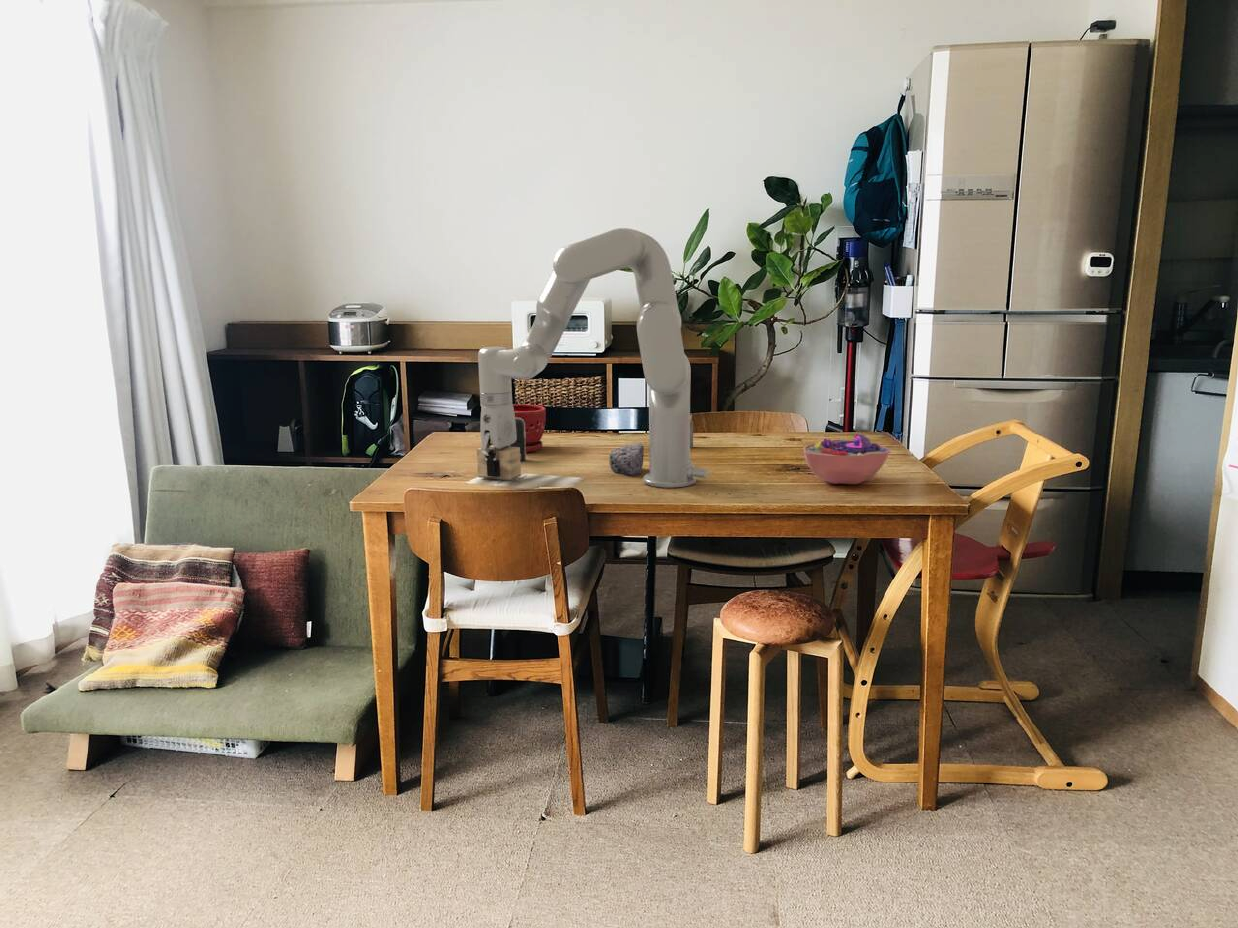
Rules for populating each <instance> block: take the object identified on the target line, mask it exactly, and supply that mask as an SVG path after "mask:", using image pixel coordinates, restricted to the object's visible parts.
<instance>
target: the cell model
mask: <svg viewBox="0 0 1238 928" xmlns="http://www.w3.org/2000/svg"><path fill="white" fill-rule="evenodd" d="M854 436H855V437H854V440H846V439H845V440H844V439H832V440H831V439H830V438H829V439H827V438H823V440H822V441H817V442H815V443H812V444H806V445H804V446H803V450H802V451H803V455H804V461H805V463H806V464H807V466H808V467H809V469H810V470H811V472H812V473H813V474H814V475H815V476H816V477H817V478H819V479H821V480H822V481H825V482H827V483H829V484H835V485H840V484H841V485H842V484H844V485H858V484H861V483H863V482H865V481H867V480H870V479H871V478H873V477H875V476H876V475H877V473H878V472H879V471H880V470H881V469H882V467H883V466H884V464H885V462H886V461H887V459H888V457H889V455H890V453H891V451H892V450H891V448H889V447H887V446H885V445H882V444H879V443H876V442H871V439H870V438H869V437H868V436H866V435H864V434H863V433H862V434H861V433H857V434H856V435H854Z"/></svg>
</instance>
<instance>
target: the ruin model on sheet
mask: <svg viewBox="0 0 1238 928" xmlns="http://www.w3.org/2000/svg"><path fill="white" fill-rule="evenodd" d="M692 418H693V414H690V450H691V449H693V448H694V421H693V420H692Z"/></svg>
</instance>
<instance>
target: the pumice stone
mask: <svg viewBox="0 0 1238 928" xmlns="http://www.w3.org/2000/svg"><path fill="white" fill-rule="evenodd" d="M644 455H645V454H644V445H643V444H641V443H634V444H630V445H622V446H620V447H618V448H615V449H613V450H611V451H610V453H609V467H610V469H611V470H612V472H614V473H615V474H621V475H626V476H632V477H637V476H639V475H641V473H642V470H643V464H644Z"/></svg>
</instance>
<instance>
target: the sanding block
mask: <svg viewBox="0 0 1238 928" xmlns="http://www.w3.org/2000/svg"><path fill="white" fill-rule="evenodd" d="M490 447H494V446H493V445H492V446H490ZM490 451H492V452H493V454H494V450H490ZM476 459H477V477H480V478H492V479H503V480H513V479H515V478H517V477H519V476H521V473H522V471H521V470H522V469H521V468H522V467H521V462H520V447H510V446H506V447H504V448H501V449H499V450H498V460H499V463H500V476H499V477H493V476H488V475H487V460H486V459H485V455H484V454H483V452H482V451H481V447H478V448H476Z"/></svg>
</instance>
